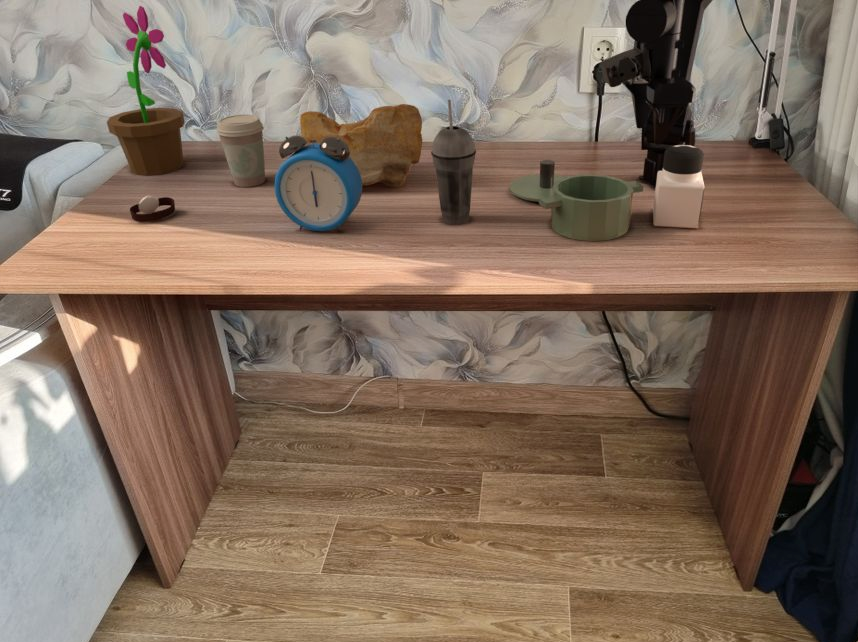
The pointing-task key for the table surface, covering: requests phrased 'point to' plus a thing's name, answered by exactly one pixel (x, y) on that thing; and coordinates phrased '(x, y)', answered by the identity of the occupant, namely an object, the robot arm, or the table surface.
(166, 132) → the flowerpot
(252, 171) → the coffee cup
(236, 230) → the table surface
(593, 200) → the cooking pot
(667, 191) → the medicine bottle
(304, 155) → the alarm clock
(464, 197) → the beverage cup
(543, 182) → the lid
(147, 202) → the watch
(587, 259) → the table surface
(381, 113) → the rough brown rock
